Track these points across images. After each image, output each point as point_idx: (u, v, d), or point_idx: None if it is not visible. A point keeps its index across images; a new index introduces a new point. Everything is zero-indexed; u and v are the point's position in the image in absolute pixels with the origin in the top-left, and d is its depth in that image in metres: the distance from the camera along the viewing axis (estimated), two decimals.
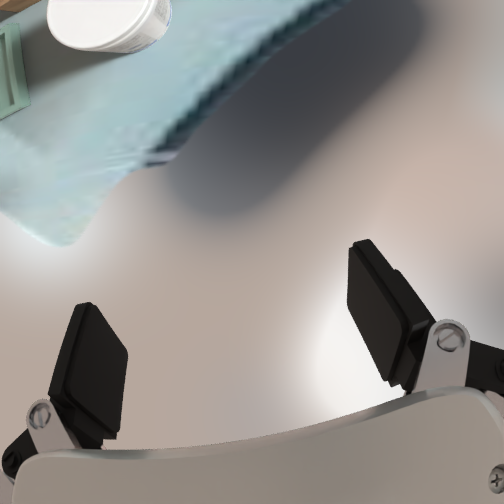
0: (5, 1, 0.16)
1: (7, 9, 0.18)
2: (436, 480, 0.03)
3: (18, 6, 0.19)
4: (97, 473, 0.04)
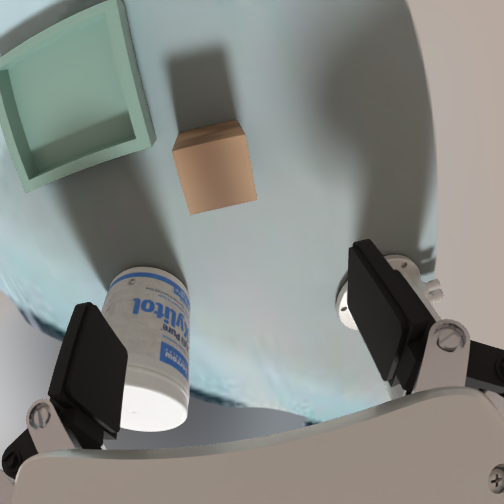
0: (182, 171, 0.20)
1: None
2: (436, 480, 0.03)
3: None
4: (97, 473, 0.04)
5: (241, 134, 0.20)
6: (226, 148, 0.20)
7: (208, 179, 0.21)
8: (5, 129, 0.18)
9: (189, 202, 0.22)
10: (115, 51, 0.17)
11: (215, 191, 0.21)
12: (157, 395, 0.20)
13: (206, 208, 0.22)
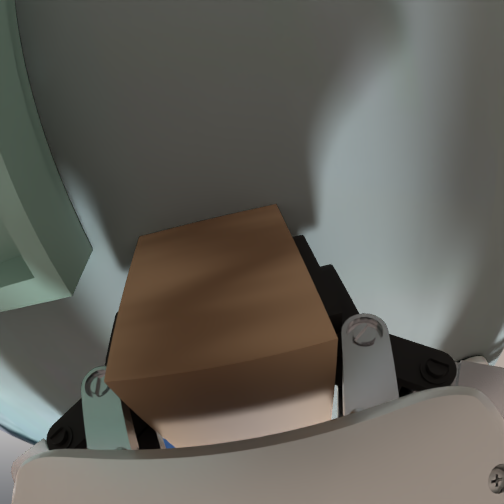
0: (148, 413, 0.07)
1: None
2: (436, 480, 0.03)
3: None
4: (97, 473, 0.04)
5: (323, 333, 0.06)
6: (272, 374, 0.06)
7: (218, 421, 0.07)
8: None
9: (178, 444, 0.08)
10: None
11: (238, 432, 0.08)
12: None
13: None
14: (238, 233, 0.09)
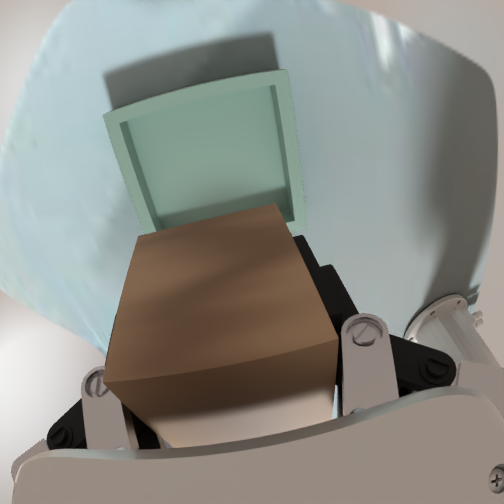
0: (147, 413, 0.06)
1: None
2: (436, 480, 0.03)
3: None
4: (97, 473, 0.04)
5: (324, 334, 0.06)
6: (271, 375, 0.06)
7: (218, 422, 0.07)
8: (134, 195, 0.22)
9: (177, 444, 0.08)
10: (285, 132, 0.21)
11: (237, 433, 0.08)
12: None
13: None
14: (238, 233, 0.09)
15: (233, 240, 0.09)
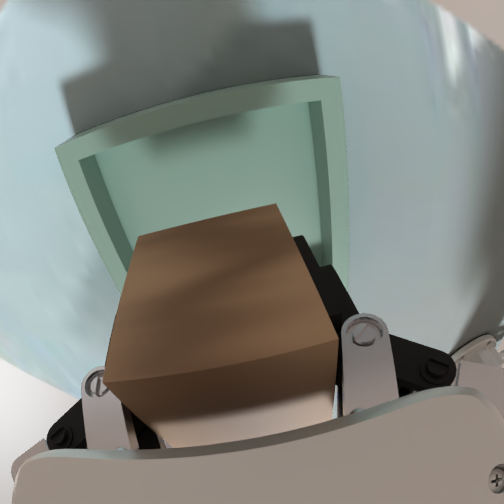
0: (147, 413, 0.06)
1: None
2: (436, 480, 0.03)
3: None
4: (97, 473, 0.04)
5: (324, 334, 0.06)
6: (271, 375, 0.06)
7: (218, 422, 0.07)
8: (110, 262, 0.15)
9: (177, 444, 0.08)
10: (331, 174, 0.14)
11: (237, 433, 0.08)
12: None
13: None
14: (238, 232, 0.09)
15: (233, 240, 0.09)
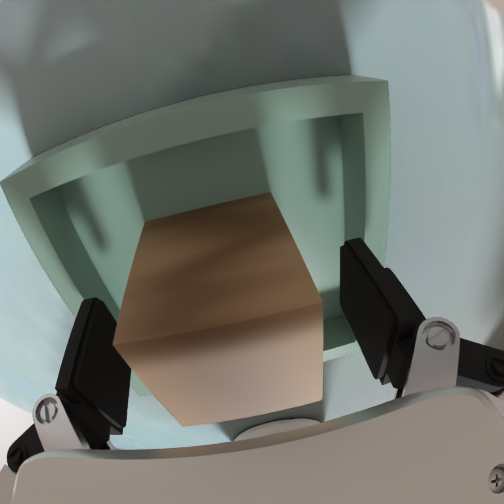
0: (152, 378, 0.07)
1: None
2: (436, 480, 0.03)
3: None
4: (97, 473, 0.04)
5: (310, 298, 0.07)
6: (264, 337, 0.07)
7: (216, 388, 0.08)
8: None
9: (178, 415, 0.09)
10: (368, 213, 0.10)
11: (234, 402, 0.09)
12: None
13: (215, 419, 0.09)
14: (236, 217, 0.10)
15: (231, 223, 0.10)
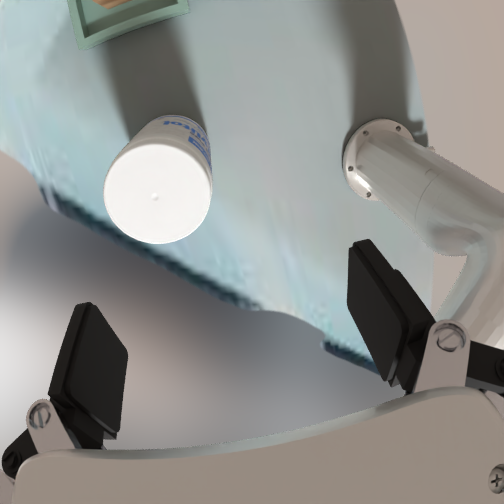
0: None
1: None
2: (436, 480, 0.03)
3: None
4: (97, 473, 0.04)
5: None
6: None
7: None
8: (71, 4, 0.20)
9: None
10: None
11: None
12: (184, 157, 0.23)
13: None
14: None
15: None
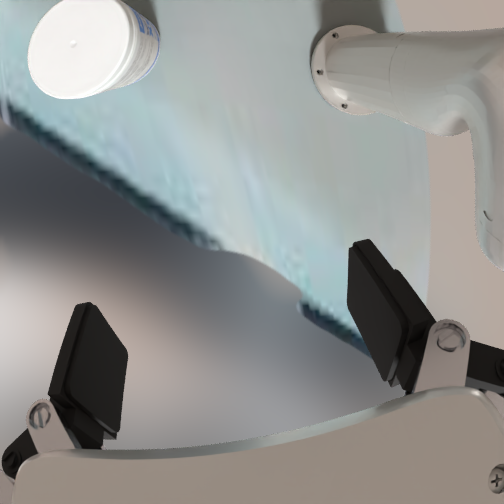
0: None
1: None
2: (436, 480, 0.03)
3: None
4: (97, 473, 0.04)
5: None
6: None
7: None
8: None
9: None
10: None
11: None
12: (107, 1, 0.14)
13: None
14: None
15: None
